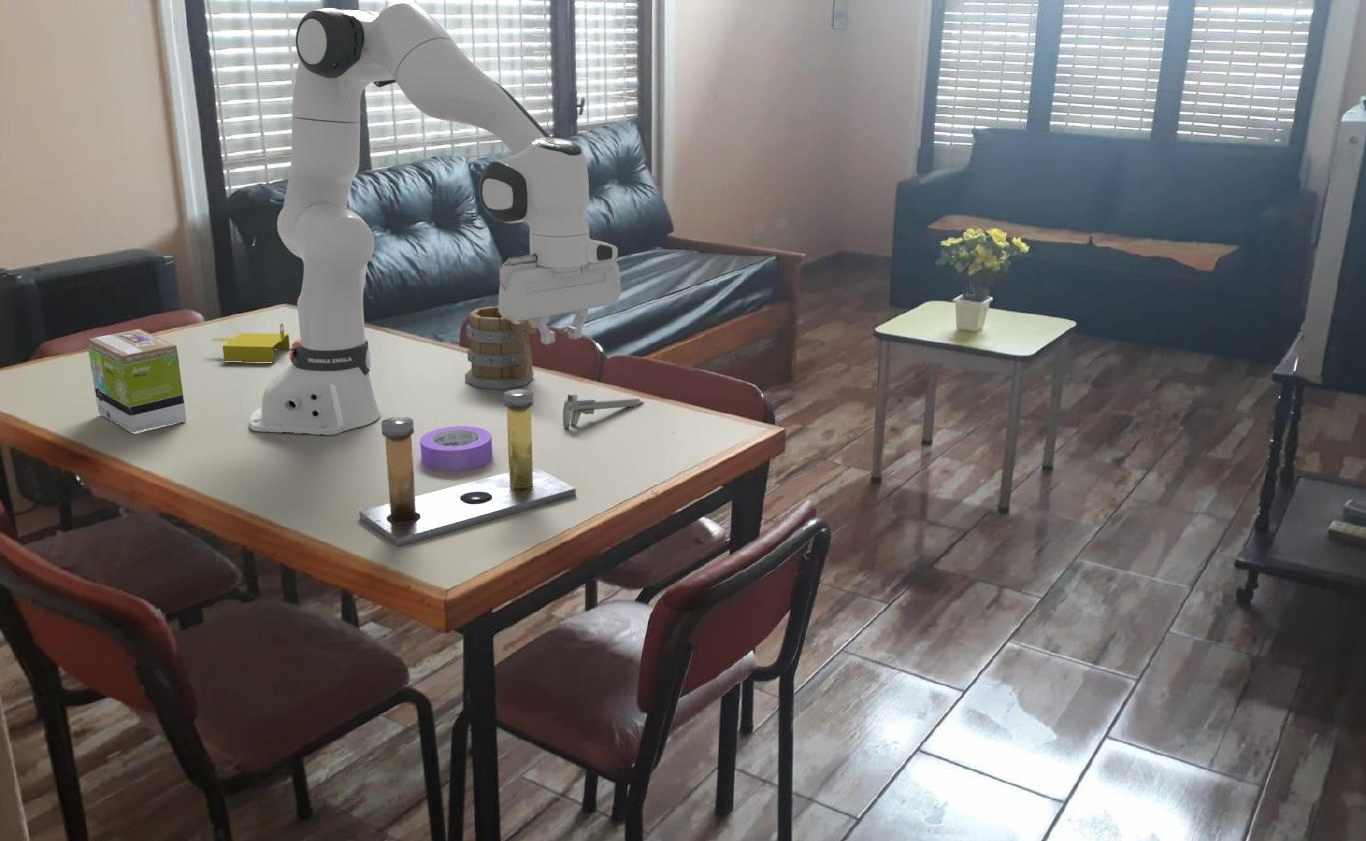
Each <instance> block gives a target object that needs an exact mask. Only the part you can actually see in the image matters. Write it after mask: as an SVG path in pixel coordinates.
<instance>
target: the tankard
mask: <svg viewBox="0 0 1366 841" xmlns="http://www.w3.org/2000/svg"><path fill="white" fill-rule="evenodd" d="M468 316H469V318H468V319H469V324H468V325H466V338H468V339H470V341H469V342H470V348H468V349H467V351H466V352H467V361H468V362H470V363H471V368H470V369H469V370H468V371H467V372H466V373H465V374H464V381H465V382H466V383H468V384H470V385H472V386H473V387H475V388H478V389H485V390H486V389H487V390H488V389H489V390H506V389H512V388H517V387H522V386H523V387H524V386H526V385H527V384H529V382H530V381H531V380H532V379H534V370H533V356H532V352H531V351H532V350H531V347H530V341H529V340H530V339H529V334H530V335H534V334H536V333H537V330H538V327H537V326H536V324H535V323H534V319H527V320H521V321H515V322H513V321H510V320H507V319H505V318H503V317H502V316H501V315H500V313H499V311H498V305H496V306H495V307H494V305H493V306H488V307H487V306H486V307H485V306H484V307H481V308H475V309H474V310H473V311H471V312H470V313H469V315H468Z"/></svg>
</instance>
